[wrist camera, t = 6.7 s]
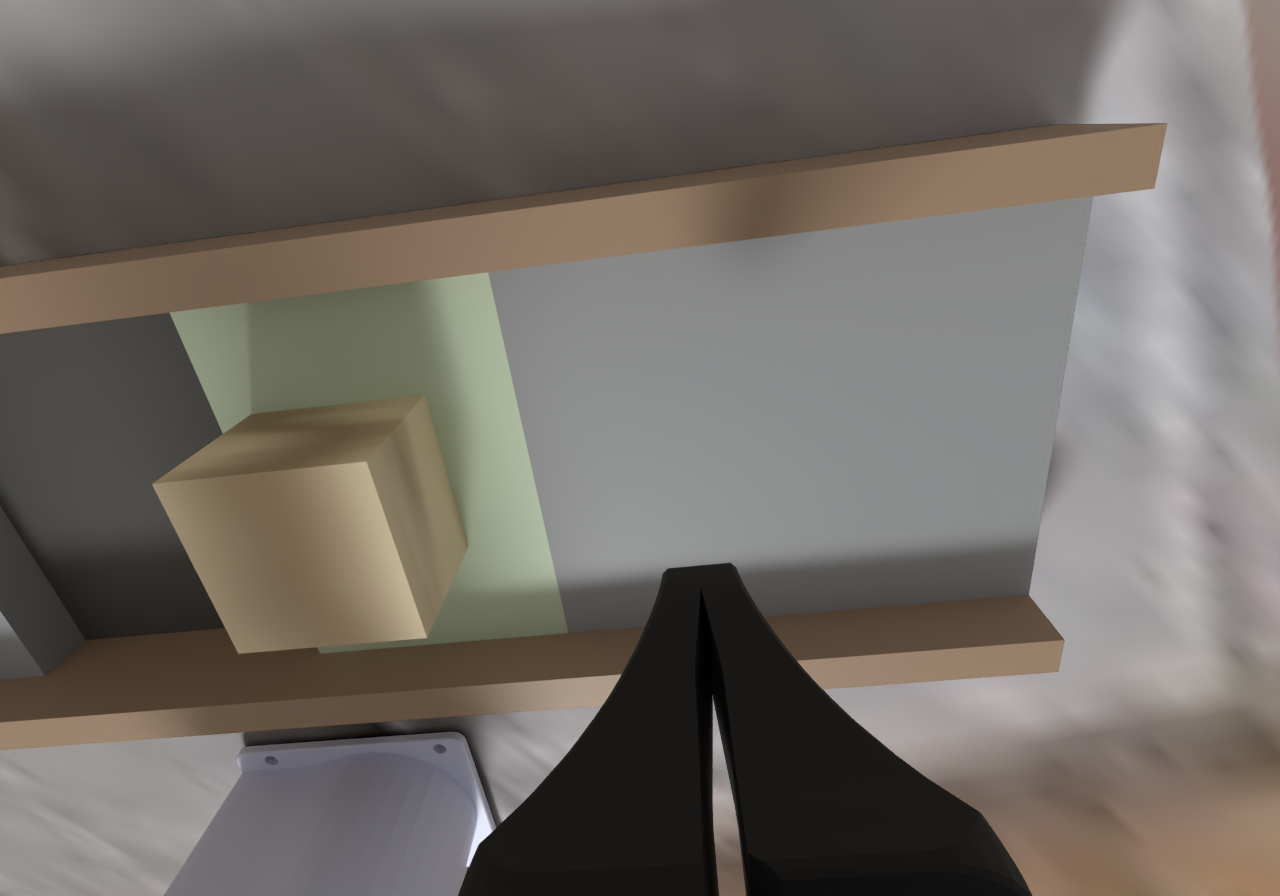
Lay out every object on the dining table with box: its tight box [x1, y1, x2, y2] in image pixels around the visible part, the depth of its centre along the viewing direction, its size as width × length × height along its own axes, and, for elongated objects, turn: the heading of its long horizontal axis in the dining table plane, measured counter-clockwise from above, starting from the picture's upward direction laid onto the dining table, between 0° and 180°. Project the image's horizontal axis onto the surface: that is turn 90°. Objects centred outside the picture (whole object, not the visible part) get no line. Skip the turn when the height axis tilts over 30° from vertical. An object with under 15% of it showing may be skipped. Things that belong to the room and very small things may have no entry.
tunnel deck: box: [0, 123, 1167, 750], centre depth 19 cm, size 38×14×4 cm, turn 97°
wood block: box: [152, 395, 468, 654], centre depth 17 cm, size 5×5×4 cm
